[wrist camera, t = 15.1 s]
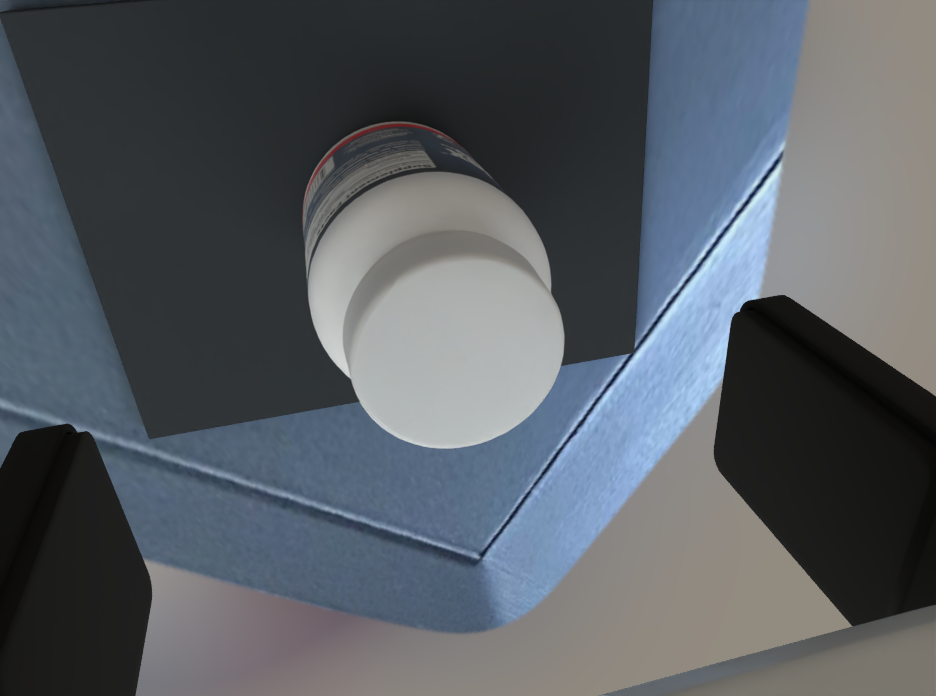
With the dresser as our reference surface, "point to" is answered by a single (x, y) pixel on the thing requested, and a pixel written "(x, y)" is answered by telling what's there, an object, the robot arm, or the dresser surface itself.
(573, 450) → the dresser surface
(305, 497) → the dresser surface
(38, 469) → the robot arm
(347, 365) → the pill bottle
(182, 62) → the mat
